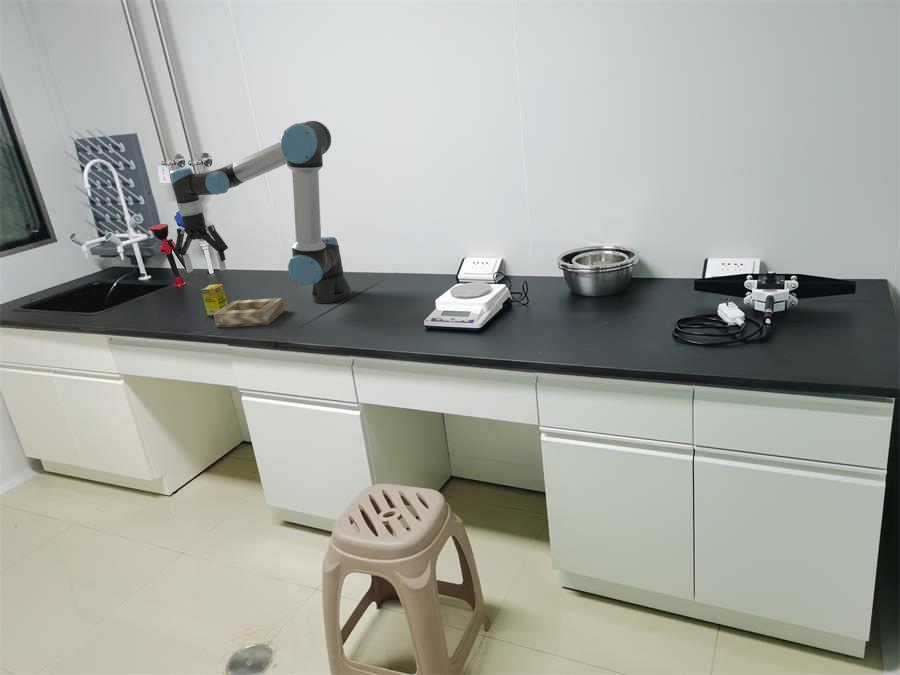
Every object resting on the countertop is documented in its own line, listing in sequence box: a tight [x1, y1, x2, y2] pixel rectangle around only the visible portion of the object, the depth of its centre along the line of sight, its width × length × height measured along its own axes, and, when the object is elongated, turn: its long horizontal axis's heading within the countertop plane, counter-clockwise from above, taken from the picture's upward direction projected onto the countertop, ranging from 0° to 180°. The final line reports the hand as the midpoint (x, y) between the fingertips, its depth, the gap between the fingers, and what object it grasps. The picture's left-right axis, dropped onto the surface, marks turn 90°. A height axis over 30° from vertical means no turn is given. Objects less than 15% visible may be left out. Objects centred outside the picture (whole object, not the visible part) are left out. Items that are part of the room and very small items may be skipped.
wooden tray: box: [213, 297, 286, 328], centre depth 232 cm, size 20×14×5 cm
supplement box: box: [200, 283, 229, 318], centre depth 241 cm, size 6×6×11 cm
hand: (206, 270), depth 237 cm, fingers open, 13 cm apart
